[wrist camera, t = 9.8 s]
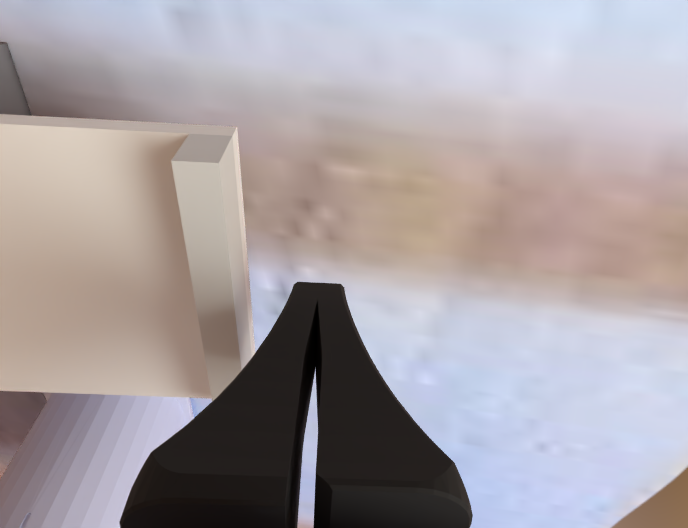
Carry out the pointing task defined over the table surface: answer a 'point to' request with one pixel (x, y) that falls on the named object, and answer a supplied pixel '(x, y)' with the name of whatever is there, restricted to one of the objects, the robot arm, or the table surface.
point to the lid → (122, 258)
